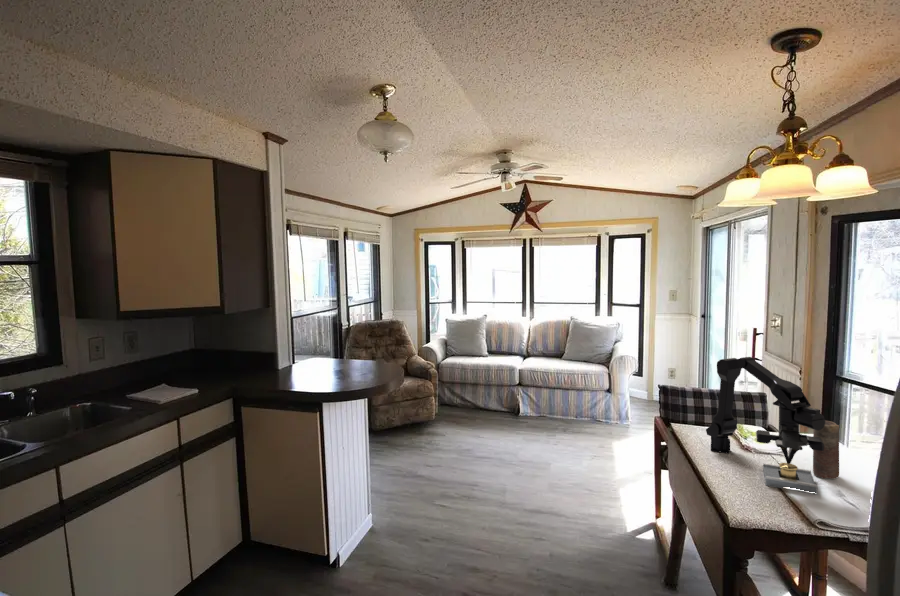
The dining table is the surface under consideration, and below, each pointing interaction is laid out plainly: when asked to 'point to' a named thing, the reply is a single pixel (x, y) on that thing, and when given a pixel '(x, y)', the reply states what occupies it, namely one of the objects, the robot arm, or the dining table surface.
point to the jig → (802, 479)
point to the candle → (827, 452)
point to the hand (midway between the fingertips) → (788, 463)
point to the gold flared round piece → (788, 470)
